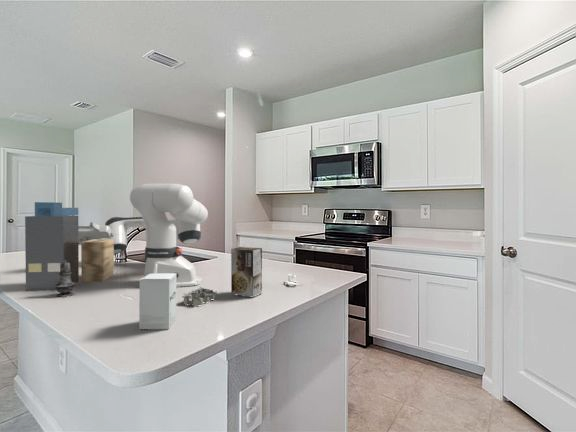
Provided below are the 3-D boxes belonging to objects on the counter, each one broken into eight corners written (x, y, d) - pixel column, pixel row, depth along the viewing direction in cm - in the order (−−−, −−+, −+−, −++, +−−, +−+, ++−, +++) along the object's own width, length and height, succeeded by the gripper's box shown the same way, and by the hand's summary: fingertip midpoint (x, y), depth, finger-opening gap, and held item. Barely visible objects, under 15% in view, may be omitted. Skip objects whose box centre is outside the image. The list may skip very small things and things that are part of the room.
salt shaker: (80, 293, 113) (79, 258, 112) (66, 297, 107) (66, 261, 106) (64, 292, 113) (63, 257, 113) (50, 297, 107) (49, 260, 107)
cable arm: (81, 214, 137) (81, 202, 137) (53, 216, 116) (53, 202, 116) (65, 214, 136) (65, 202, 136) (34, 216, 115) (34, 202, 114)
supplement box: (169, 329, 81) (169, 278, 80) (138, 330, 80) (138, 278, 80) (177, 319, 88) (177, 272, 88) (148, 319, 88) (148, 272, 87)
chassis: (78, 281, 129) (78, 215, 128) (63, 289, 117) (63, 216, 116) (44, 282, 127) (43, 215, 126) (25, 290, 115) (24, 216, 114)
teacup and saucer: (294, 289, 124) (294, 278, 124) (277, 286, 128) (277, 275, 128) (305, 284, 131) (305, 274, 131) (288, 281, 136) (288, 272, 136)
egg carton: (197, 308, 99) (198, 295, 98) (179, 305, 102) (179, 292, 101) (218, 299, 108) (218, 287, 108) (201, 296, 111) (201, 285, 111)
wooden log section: (113, 274, 142) (113, 239, 142) (103, 281, 131) (103, 242, 130) (93, 275, 141) (93, 239, 140) (81, 281, 129) (81, 242, 129)
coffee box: (262, 293, 115) (263, 247, 115) (253, 298, 109) (253, 250, 109) (240, 290, 119) (240, 246, 119) (230, 294, 113) (230, 248, 113)
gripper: (113, 243, 156) (104, 230, 144) (66, 243, 152) (52, 230, 140) (116, 231, 159) (107, 217, 147) (69, 230, 155) (56, 217, 143)
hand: (79, 223), depth 143 cm, fingers open, 8 cm apart
